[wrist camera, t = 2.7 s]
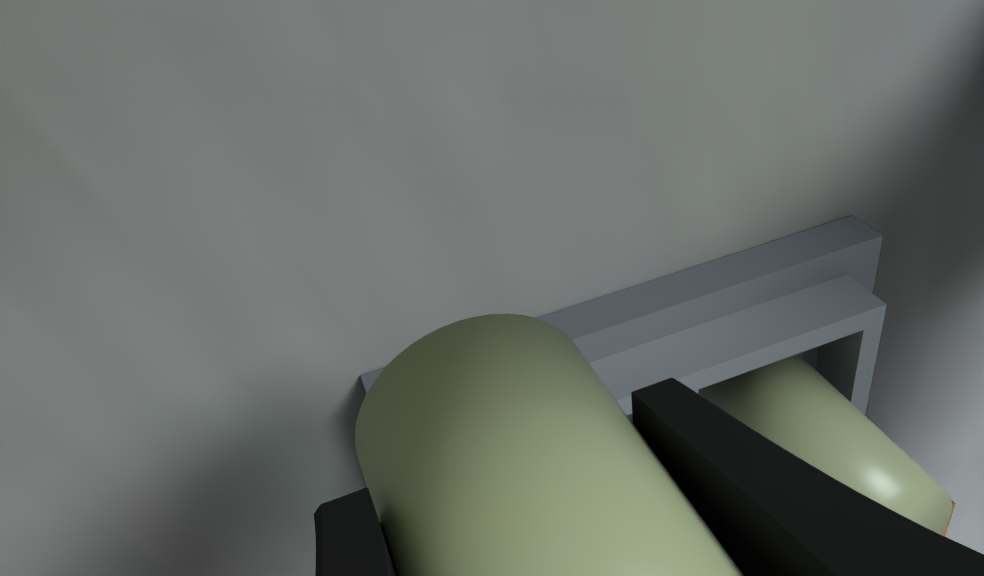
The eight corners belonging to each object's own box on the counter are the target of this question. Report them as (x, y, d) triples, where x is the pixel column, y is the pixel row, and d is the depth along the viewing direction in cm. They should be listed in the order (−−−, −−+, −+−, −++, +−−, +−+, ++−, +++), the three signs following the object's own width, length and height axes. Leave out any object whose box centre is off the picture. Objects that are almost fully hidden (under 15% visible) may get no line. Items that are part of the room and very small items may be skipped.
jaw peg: (579, 281, 11) (857, 619, 7) (594, 457, 13) (814, 802, 9) (326, 364, 11) (457, 799, 6) (384, 537, 13) (513, 953, 8)
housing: (852, 215, 23) (1073, 359, 17) (804, 524, 30) (946, 691, 25) (360, 375, 20) (442, 609, 14) (447, 672, 27) (521, 895, 22)
